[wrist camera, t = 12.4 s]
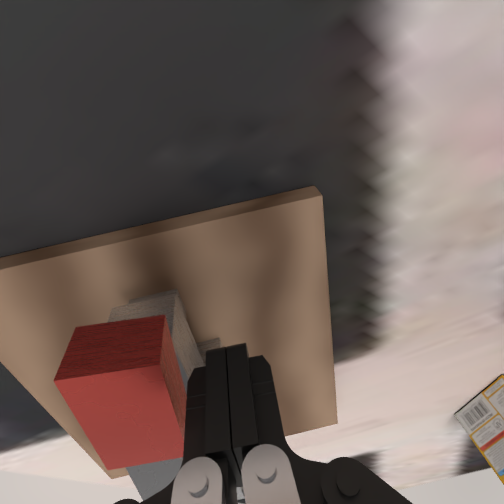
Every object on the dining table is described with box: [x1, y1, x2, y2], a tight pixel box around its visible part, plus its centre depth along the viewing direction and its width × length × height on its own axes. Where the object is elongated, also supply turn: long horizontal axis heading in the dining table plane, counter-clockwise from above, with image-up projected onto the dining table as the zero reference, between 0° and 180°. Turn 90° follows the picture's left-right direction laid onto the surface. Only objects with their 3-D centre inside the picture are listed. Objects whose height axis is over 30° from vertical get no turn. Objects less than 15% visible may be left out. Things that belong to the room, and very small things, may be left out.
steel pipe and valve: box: [107, 289, 245, 500], centre depth 22 cm, size 6×18×6 cm, turn 11°
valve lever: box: [53, 315, 187, 501], centre depth 15 cm, size 15×3×4 cm, turn 3°
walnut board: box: [0, 186, 338, 479], centre depth 25 cm, size 22×24×2 cm
